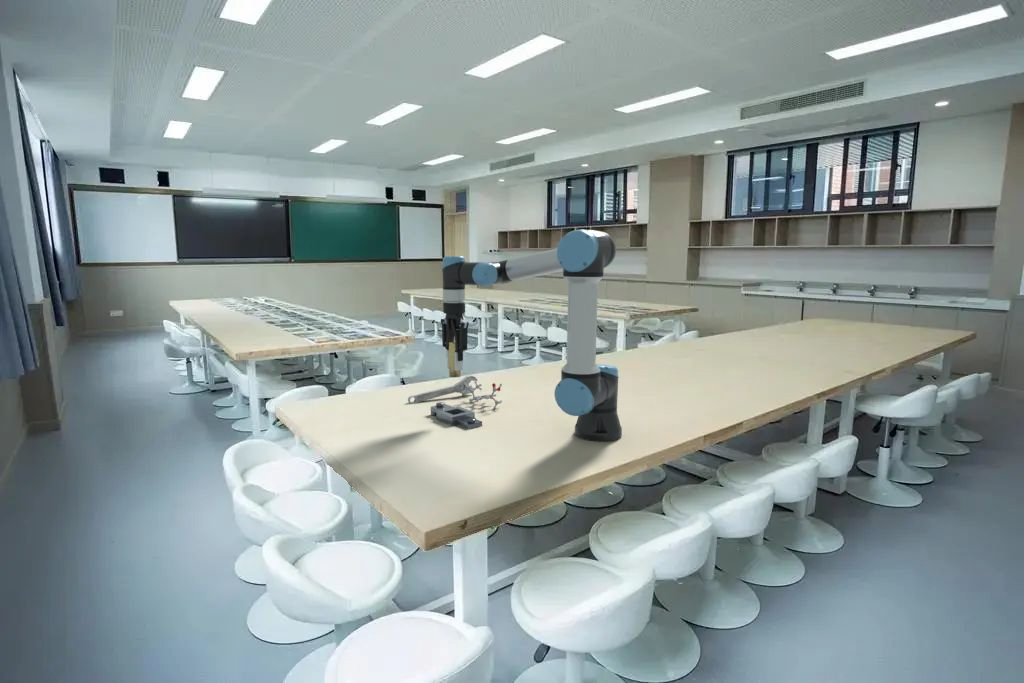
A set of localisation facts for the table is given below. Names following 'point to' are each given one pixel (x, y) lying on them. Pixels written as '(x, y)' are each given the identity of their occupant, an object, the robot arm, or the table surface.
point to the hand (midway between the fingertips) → (454, 368)
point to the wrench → (444, 390)
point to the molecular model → (483, 395)
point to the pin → (452, 360)
